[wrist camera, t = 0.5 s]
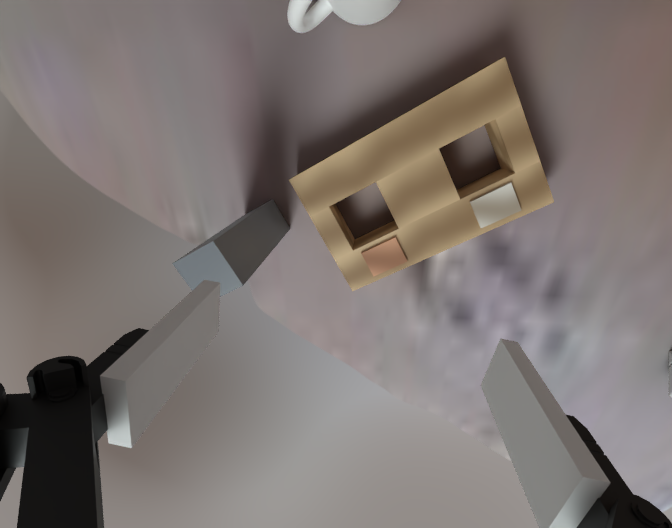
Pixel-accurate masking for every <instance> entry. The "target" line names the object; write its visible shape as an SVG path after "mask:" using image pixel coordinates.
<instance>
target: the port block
mask: <svg viewBox="0 0 672 528" xmlns="http://www.w3.org/2000/svg"><path fill="white" fill-rule="evenodd" d="M483 125H485V127H486V130H487V133H488V135H489V138H490V141H491V143H492V146H493V149H494V151H495V154H496V157H497V159H498V162H499V165H500V167H501V169H499V170H497V171H495V172H493V173H491V174H488V175H486V176H484V177H482V178H480V179H478V180H476V181H474V182H472V183H470V184H468V185H466V186H464V187H462V188H460V189H458V190H456V188H455V186H454V183H453V181H452V179H451V176H450V174H449V172H448V169H447V167H446V165H445V162H444V160H443V157H442V155H441V153H440V150H439V148H441V147H443V146H445V145H447V144H449V143H451V142H453V141H455V140H457V139H458V138H460V137H462V136H464V135H466V134H468V133H470V132H472V131H474V130H475V129H477V128H479V127H481V126H483ZM289 181H290V183H291V184H292V186H293V188H294V190H295V191H296V193H297V195H298V197H299V198H300V200H301V202H302V204H303V205H304V207H305V209H306V211H307V212H308V214H309V216H310V218H311V219H312V221H313V223H314V225H315V226H316V228H317V230H318V232H319V233H320V235H321V237H322V239H323V240H324V242H325V244H326V246H327V247H328V249H329V251H330V253H331V254H332V256H333V258H334V260H335V261H336V263H337V265H338V267H339V268H340V270H341V272H342V274H343V275H344V277H345V279H346V281H347V282H348V284H349V286H350V288H351V289H352V291H354V290H357V289H359V288H361V287H363V286H366V285H368V284H370V283H372V282H375V281H377V280H379V279H381V278H384V277H386V276H388V275H390V274H393V273H395V272H397V271H399V270H402V269H404V268H406V267H408V266H411V265H413V264H415V263H417V262H420V261H422V260H424V259H427V258H429V257H431V256H433V255H436V254H438V253H440V252H442V251H445V250H447V249H449V248H451V247H454V246H456V245H458V244H460V243H463V242H465V241H467V240H469V239H472V238H474V237H476V236H478V235H481V234H483V233H485V232H487V231H490V230H492V229H494V228H497V227H499V226H501V225H503V224H506V223H508V222H510V221H512V220H515V219H517V218H519V217H521V216H524V215H526V214H528V213H530V212H533V211H535V210H537V209H539V208H542V207H544V206H546V205H548V204H551V203H553V202H554V200H553V197H552V194H551V191H550V188H549V185H548V182H547V179H546V176H545V173H544V171H543V168H542V165H541V162H540V159H539V156H538V153H537V150H536V147H535V144H534V141H533V138H532V135H531V132H530V129H529V126H528V123H527V120H526V118H525V115H524V112H523V109H522V106H521V103H520V100H519V97H518V94H517V91H516V88H515V85H514V82H513V79H512V76H511V73H510V70H509V68H508V65H507V62H506V59H505V57H504V58H502V59H500V60H498V61H496V62H494V63H492V64H491V65H489V66H487V67H485V68H484V69H482V70H480V71H478V72H477V73H475V74H473V75H471V76H470V77H468V78H466V79H464V80H463V81H461V82H459V83H457V84H456V85H454V86H452V87H450V88H449V89H447V90H445V91H443V92H442V93H440V94H438V95H436V96H435V97H433V98H431V99H429V100H428V101H426V102H424V103H422V104H420V105H419V106H417V107H415V108H413V109H412V110H410V111H408V112H406V113H405V114H403V115H401V116H399V117H398V118H396V119H394V120H392V121H391V122H389V123H387V124H385V125H384V126H382V127H380V128H378V129H377V130H375V131H373V132H371V133H370V134H368V135H366V136H364V137H363V138H361V139H359V140H357V141H356V142H354V143H352V144H350V145H349V146H347V147H345V148H343V149H342V150H340V151H338V152H336V153H335V154H333V155H331V156H329V157H328V158H326V159H324V160H322V161H321V162H319V163H317V164H315V165H314V166H312V167H310V168H308V169H307V170H305V171H303V172H301V173H300V174H298V175H296V176H294V177H293V178H291V179H290V180H289ZM375 182H376V183H377V185H378V187H379V189H380V191H381V193H382V195H383V197H384V200H385V202H386V204H387V206H388V208H389V210H390V212H391V214H392V216H393V218H394V221H392V222H390V223H388V224H386V225H384V226H382V227H380V228H377V229H375V230H373V231H371V232H369V233H367V234H365V235H363V236H361V237H359V238H357V239H354V237H353V235H352V233H351V231H350V230H349V228H348V226H347V224H346V222H345V220H344V218H343V217H342V215H341V213H340V211H339V209H338V207H337V206H336V204H335V203H337V202H339V201H341V200H343V199H344V198H346V197H348V196H350V195H352V194H354V193H356V192H358V191H360V190H362V189H363V188H365V187H367V186H369V185H371V184H373V183H375Z"/></svg>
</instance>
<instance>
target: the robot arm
mask: <svg viewBox="0 0 672 528" xmlns="http://www.w3.org/2000/svg"><path fill="white" fill-rule="evenodd" d="M219 305H220V283H219V282H214V281H209V280H204V281H202V282H201V283H200V284H199V285H198V286H197V287H196V288H195V289H194V290H193V291H192V292H190V293H189V294H188V295H187V296H186V297H185V298H184V299H183V300H182V301H181V302H180V303H179V304H178V305H176V306H175V307H174V308H173V309H172V310H171V311H170V312H169V313H168V314H167V315H165V316H164V317H163V318H162V319H161V320H160V321H159V322H158V323H157V324H156V325H155V326H153V327H152V328H151V329H150V330H145V329H140V328H138V329H136V330H133V331H132V332H129V333H127V334H125V335H123V336H122V337H121V338H120V339H119V340H117V341H116V342H115V343H114V345H112V346H110V347H109V348H108V349H107V350H106V352H103V353H102V354H101V355H100V356H99V357H97V358H96V359H95V360H94V361H93V362H91V363H90V364H89V365H88V366H86V363H85V361H84V360H83V359H81V358H79V357H74V356H62V357H56V358H53V359H49V360H46V361H44V362H42V363H40V364H39V365H37V366H36V367H34V368H33V369H32V370H31V371H30V372H29V374H28V376H27V382H28V386H29V390H30V393H28V394H27V393H24V394H6V392H5V389H4V387H3V385H2V384H1V383H0V501H1V499H2V497H3V494H4V492H5V490H6V488H7V486H8V484H9V482H10V480H11V477H12V475H13V473H14V471H15V469H16V467H24V473H23V481H22V489H21V498H20V506H19V515H18V523H17V528H104V520H103V506H102V492H101V478H100V465H99V450H98V442H97V441H98V440H99V439H100V438H101V436H102V435H103V434H104V433H105V432H106V431H107V434H108V443H110V444H115V445H120V446H124V447H129V448H132V447H133V446H134V444H135V443H136V442H137V440H138V439H139V438H140V436H141V435H142V434H143V432H144V431H145V430H146V428H147V427H148V426H149V424H150V423H151V422H152V420H153V419H154V418H155V416H156V415H157V413H158V412H159V411H160V409H161V408H162V407H163V406H164V404H165V403H166V402H167V400H168V399H169V397H170V396H171V395H172V393H173V392H174V391H175V389H176V388H177V387H178V385H179V384H180V383H181V381H182V380H183V379H184V377H185V376H186V375H187V373H188V372H189V371H190V369H191V368H192V367H193V365H194V364H195V363H196V361H197V360H198V359H199V357H200V356H201V355H202V353H203V352H204V351H205V349H206V348H207V347H208V345H209V344H210V343H211V341H212V340H213V339H214V337H215V336H216V335H217V333H218V331H219V328H218V327H219ZM481 387H482V390H483V392H484V395H485V397H486V400H487V402H488V404H489V407H490V409H491V412H492V414H493V417H494V419H495V421H496V424H497V426H498V429H499V431H500V434H501V436H502V438H503V441H504V443H505V446H506V448H507V451H508V453H509V455H510V458H511V460H512V463H513V465H514V468H515V470H516V472H517V475H518V477H519V480H520V482H521V485H522V487H523V489H524V492H525V494H526V496H527V499H528V502H529V504H530V506H531V509H532V511H533V514H534V516H535V518H536V521H537V523H538V526H539V528H672V523H671V522H670V520H669V519H668V518H667V517H666V516H665V515H664V514H663V513H662V512H661V511H660V510H659V509H658V508H656V507H655V506H654V505H653V504H651V503H650V502H648V501H647V500H645V499H643V498H641V497H639V496H637V495H634V494H633V493H632V492H631V491H630V489H629V488H628V486H627V485H626V484H625V482H624V481H623V479H622V478H621V476H620V475H619V474H618V472H617V471H616V469H615V468H614V466H613V465H612V464H611V462H610V461H609V459H608V458H607V456H606V455H604V452H603V451H602V449H601V448H600V447H599V445H598V444H596V441H595V439H594V438H593V437H592V435H591V434H590V432H589V431H588V429H587V428H586V427H585V426H583V425H582V424H581V423H580V422H579V421H578V420H577V419H576V418H575V417H574V416H569V415H565V413H564V412H563V410H562V409H561V407H560V406H559V404H558V403H557V401H556V400H555V398H554V397H553V395H552V394H551V392H550V391H549V389H548V388H547V386H546V385H545V383H544V381H543V380H542V378H541V377H540V375H539V374H538V372H537V371H536V369H535V368H534V366H533V365H532V363H531V362H530V360H529V359H528V357H527V356H526V354H525V353H524V351H523V350H522V348H521V347H520V345H519V344H518V342H514V341H509V340H504V339H500V341H499V344H498V346H497V348H496V351H495V353H494V355H493V358H492V360H491V362H490V365H489V367H488V369H487V372H486V374H485V376H484V379H483V381H482V383H481Z"/></svg>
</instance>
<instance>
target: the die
mask: <svg viewBox="0 0 672 528" xmlns="http://www.w3.org/2000/svg"><path fill="white" fill-rule="evenodd" d="M669 366H670V367H669V396H670V397H672V351H669Z"/></svg>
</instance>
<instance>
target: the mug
mask: <svg viewBox="0 0 672 528" xmlns="http://www.w3.org/2000/svg"><path fill="white" fill-rule="evenodd" d="M400 1H401V0H318V1H317V2H316V3H315V4H314V5H313V6H312V7H311V8H310V9H309V10H308V11H307V12H306V10H307V9H308V7H309V5H310V3H311V2H312V0H290V2H289V6H288V11H287V17H288V22H289V25H290V26H291V28H292V29H293V30H294V31H295V32H298V33H305V32H308V31H310V30H312V29H313V28H315V27H316V26H317V25H319V24H320V23H321V22H322V21H323V20H324V19H325V18H326V17H327V16H328V15H329V14H330V13H331V12H332V11H333V12H334V13H335V14H336V15H338V16H339V17H340V18H341V19H343V20H344V21H347V22H349V23H351V24H355V25H369V24H373V23H376V22H378V21H380V20H382V19H384V18H385V17H387V16H388V15H389V14H390V13H391V12H392V11H393V10H394V9H395V8H396V7H397V6H398V4H399V3H400Z"/></svg>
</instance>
